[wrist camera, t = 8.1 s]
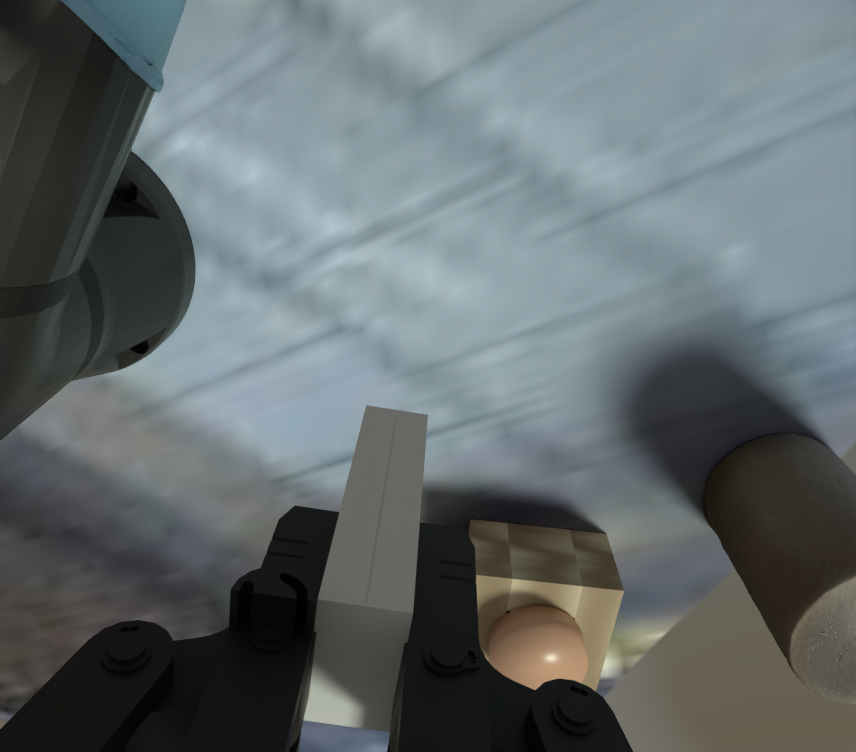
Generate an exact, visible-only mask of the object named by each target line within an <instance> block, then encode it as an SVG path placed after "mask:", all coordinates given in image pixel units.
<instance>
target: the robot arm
mask: <svg viewBox="0 0 856 752" xmlns="http://www.w3.org/2000/svg"><path fill="white" fill-rule="evenodd" d="M185 3H186V0H0V440H1V439H3V438H4V437H5V436H6V435H7V434H9V433H10V432H11V431H12V430H13V429H14V428H16V427H17V426H18V425H19V424H20V423H22V422H23V421H24V420H25V419H26V418H28V417H29V416H30V415H31V414H32V413H34V412H35V411H36V410H37V409H38V408H40V407H41V406H42V405H43V404H44V403H46V402H47V401H48V400H49V399H50V398H52V397H53V396H54V395H55V394H56V393H58V392H59V391H60V390H61V389H62V388H63V387H65V386H66V385H67V384H68V383H69V382H70V381H73V380H78V379H82V378H87V377H92V376H96V375H101V374H105V373H110V372H114V371H117V370H121V369H123V368H126V367H128V366H130V365H132V364H134V363H136V362H138V361H140V360H142V359H143V358H145V357H146V356H148V355H149V354H150V353H152V352H153V351H154V350H155V349H156V348H157V347H158V346H159V345H161V344H162V343H163V342H164V341H165V340H166V339H167V338H168V337H169V336H170V335H171V334H172V333H173V332H174V330H175V329H176V328H177V327H178V325H179V324H180V322H181V321H182V319H183V317H184V315H185V314H186V311H187V309H188V307H189V304H190V301H191V298H192V294H193V290H194V283H195V256H194V249H193V244H192V240H191V236H190V233H189V230H188V227H187V224H186V222H185V219H184V217H183V215H182V213H181V211H180V209H179V207H178V205H177V203H176V202H175V200H174V198H173V197H172V195H171V194H170V192H169V191H168V189H167V188H166V187H165V185H164V184H163V183H162V182H161V180H160V179H159V178H158V177H157V176H156V175H155V174H154V173H153V172H152V170H151V169H150V168H148V167H147V166H146V165H145V164H144V163H143V162H142V161H141V160H140V159H138V158H137V157H136V156H135V155H133V154H132V153H131V152H130V150H131V148H132V146H133V143H134V141H135V138H136V136H137V134H138V131H139V129H140V126H141V124H142V121H143V119H144V117H145V114H146V112H147V109H148V107H149V105H150V102H151V100H152V97H153V95H154V93H155V91H156V92H160V91H161V89H162V87H163V85H164V79H163V75H162V69H163V67H164V64H165V61H166V58H167V55H168V52H169V49H170V46H171V43H172V41H173V38H174V35H175V32H176V29H177V26H178V24H179V21H180V18H181V15H182V12H183V10H184V6H185ZM427 418H428V415H425V414H418V413H412V412H406V411H399V410H393V409H386V408H380V407H373V406H367V405H366V409H365V413H364V417H363V421H362V425H361V429H360V433H359V437H358V441H357V445H356V449H355V453H354V457H353V461H352V465H351V469H350V473H349V477H348V481H347V484H346V488H345V492H344V496H343V500H342V504H341V508H340V512H334V511H327V510H321V509H314V508H307V507H300V506H294V507H293V508H292V509H291V510H289V511H288V512H287V513H286V514H285V515H284V516H283V517H281V518H280V519H279V521H278V524H277V526H276V529H275V532H274V534H273V537H272V541H271V542H270V545H269V547H268V550H267V554H266V555H265V558H264V561H263V563H262V566H261V568H260V569H257V570H253V571H250V572H249V573H247V574H245V575H244V576H242V577H241V578H239V579H238V580H237V582H236V583H235V584H234V586H233V587H232V589H231V596H230V618H229V627H227V628H226V629H224V630H223V631H220V632H218V633H215V634H213V635H210V636H205V637H200V638H194V639H185V640H177V641H173V639H172V638H171V636H170V634H169V633H168V631H167V630H166V629H164V628H162V627H161V626H159V625H157V624H156V623H152V622H146V621H141V620H136V621H127V622H120V623H117V624H115V625H112V626H110V627H107V628H104V629H103V630H101V631H100V632H99V633H97V634H96V635H95V636H93V637H92V638H91V639H89V640H88V641H87V642H86V643H85V644H84V645H83V646H82V647H81V648H80V649H79V650H78V651H77V652H76V653H75V654H74V655H73V656H72V657H71V658H70V659H69V660H68V661H67V662H66V663H65V664H64V666H63V667H62V668H61V669H60V670H59V671H58V672H57V673H56V674H55V675H54V676H53V677H52V678H51V679H50V680H49V681H48V682H47V683H46V684H45V685H44V686H43V687H42V688H41V689H40V690H39V691H38V692H37V693H36V694H35V695H34V696H33V697H32V698H31V699H30V700H29V701H28V702H27V703H26V704H25V705H24V706H23V707H22V708H21V709H20V710H19V711H18V712H17V713H16V714H15V715H14V716H13V717H12V718H11V719H10V720H9V721H8V722H7V723H6V724H5V725H4V726H3V727H2V728H1V729H0V752H299V744H300V735H301V728H302V724H303V719H304V720H306V721H313V722H320V723H328V724H335V725H342V726H349V727H356V728H364V729H371V730H378V731H385V732H390V739H389V745H388V750H387V752H633V751H632V749H631V747H630V745H629V743H628V741H627V739H626V737H625V735H624V733H623V731H622V729H621V727H620V725H619V723H618V721H617V719H616V717H615V715H614V713H613V711H612V710H611V708H610V707H609V705H608V704H607V703H606V701H605V700H604V698H603V697H602V696H600V695H599V694H598V693H597V692H595V691H594V690H593V689H592V688H590V687H589V686H586V685H584V684H582V683H579V682H577V681H574V680H567V679H554V680H550V681H546V682H544V683H543V684H542V685H541V686H540V687H538V688H537V689H536V690H534V689H531V688H529V687H527V686H524V685H522V684H520V683H517V682H515V681H513V680H511V679H509V678H508V677H506V676H504V675H502V674H501V673H500V672H499V671H497V670H496V669H495V668H494V667H493V666H492V665H491V664H490V663H489V661H488V660H487V659H486V658H485V656H484V653H483V652H482V650H481V647H480V642H479V631H478V607H477V584H476V569H475V567H476V560H475V546H474V545H473V543H472V541H471V540H470V538H469V536H468V535H467V533H466V531H465V530H464V529H459V528H452V527H445V526H439V525H432V524H425V523H420V513H421V499H422V486H423V472H424V459H425V445H426V432H427Z"/></svg>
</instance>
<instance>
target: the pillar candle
mask: <svg viewBox="0 0 856 752" xmlns="http://www.w3.org/2000/svg"><path fill="white" fill-rule="evenodd" d="M703 510H704V513H705V517H706V519H707V522H708V523H709V525H710V527H711V528H712V529H713V530H714V531H715V533H716V534H717V535H718V537H719V539H720V541H721V544H722V546H723V549H724V550H725V551H726V553H727V554H728V556H729V558H730V560H731V562H732V564H733V566H734V567H735V569H736V571H737V573H738V574H739V576H740V577H741V579H742V581H743V582H744V585H745V586H746V588H747V590H748V593H749V594H750V595H751V598H752V599H753V601H754V603H755V605H756V606H757V608H758V609H759V611H760V613H761V615H762V617H763V619H764V621H765V623H766V625H767V627H768V628H769V630H770V632H771V633H772V635H773V637H774V639H775V641H776V642H777V644H778V646H779V648H780V650H781V651H782V653H783V654H784V656H785V657H786V659H787V661H788V663H789V666H790V667H791V669H792V671H793V672H794V673H795V675H796V676H797V677H798V678H799V679H800V680H801V682H802V683H803V684H804V685H805V686H807V687H808V688H810V689H811V690H813V691H814V692H815V693H817V694H819V695H821V696H823V697H825V698H829V699H831V700H835V701H839V702H845V703H851V704H854V703H855V704H856V475H855V473H854V472H853V471H852V470H851V469H850V468H849V467H848V466H847V465H846V464H845V463H844V462H843V461H842V460H841V459H840V458H839V457H838V456H837V455H836V454H835V453H834V452H833V451H832V450H831V449H829V448H828V447H827V446H825V445H824V444H822V443H820V442H819V441H817V440H815V439H812V438H810V437H807V436H802V435H796V434H789V433H788V434H775V435H769V436H765V437H763V438H758V439H755V440H752V441H750V442H747V443H746V444H745V445H742V446H740V447H739V448H737V449H736V450H735V451H733V452H732V453H731V454H729V455H728V456H726V457H725V458H724V459H723V460H722V461H721V462H720V463H719V464H718V465H717V466H716V467H715V468H714V470H713V471H712V472H711V474H710V476H709V478H708V479H707V482H706V485H705V488H704V495H703Z"/></svg>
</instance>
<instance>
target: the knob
mask: <svg viewBox="0 0 856 752" xmlns="http://www.w3.org/2000/svg"><path fill="white" fill-rule="evenodd" d="M506 613H507V614H505V615H504V616H502V617H501V618H500V619H499V620H498V621H497V622H496V623H495V624H494V626H493V627H492V629H491V631H490V634H489V640H488V646H489V663H490V664H491V665H492V666H493V667H494V668H495V669H496V670H497V671H499V672H500V673H501V674H502V675H504V676H506V677H508V678H509V679H511V680H513V681H515V682H517V683H520V684H522V685H524V686H527V687H529V688H531V689H534V690H536V689H537V688H538V687H540V686H541V685H542V684H543V683H544V682H546V681H550V680H554V679H567V680H574V681H577V682H579V683H581V682H582V681H583V679H584V677H585V676H586V673H587V669H588V658H587V653H586V649H585V644H584V639H583V635H582V631H581V629H580V627H579V625H578V624H577V623H576V621H575V620H574V619H573V618H572V617H570V616H569V615H567V614H566V613H564V612H562V611H560V610H558V609H555V608H551V607H546V606H528V607H522V608H518V609H516V610H513V611H506Z"/></svg>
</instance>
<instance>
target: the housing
mask: <svg viewBox="0 0 856 752" xmlns="http://www.w3.org/2000/svg"><path fill="white" fill-rule="evenodd" d="M468 536H469V538H470V540H471V541H472V543H473V545H474V546H475V560H476V567H475V569H476V584H477V607H478V631H479V642H480V647H481V650H482V652H483V653H484V656H485V658H486V659H487V660H488V661H489V646H488V640H489V634H490V631H491V629H492V627H493V626H494V624H495V623H496V622H497V621H498V620H499V619H500V618H501V617H502V616H504V615H505V614H507V613H506V611H513V610H516V609H518V608H522V607H528V606H546V607H551V608H555V609H558V610H560V611H562V612H564V613H566V614H567V615H569V616H570V617H572V618H573V619H574V620H575V621H576V623H577V624H578V625H579V627H580V629H581V631H582V635H583V639H584V644H585V649H586V653H587V658H588V669H587V673H586V676H585V677H584V679H583V681H582V682H581V683H582V684H584V685H586V686H589V687H590V688H592V689H593V690H594V691H595V692H596V689H597V685H598V682H599V678H600V675H601V671H602V668H603V664H604V660H605V657H606V653H607V650H608V646H609V643H610V639H611V636H612V632H613V628H614V625H615V621H616V618H617V614H618V611H619V607H620V603H621V600H622V596H623V593H624V589H623V586H622V583H621V580H620V576H619V573H618V570H617V567H616V563H615V560H614V557H613V554H612V550H611V547H610V544H609V541H608V537H607V534H604V533H594V532H585V531H576V530H567V529H558V528H548V527H539V526H530V525H521V524H512V523H502V522H493V521H484V520H475V519H470V525H469V532H468Z"/></svg>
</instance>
